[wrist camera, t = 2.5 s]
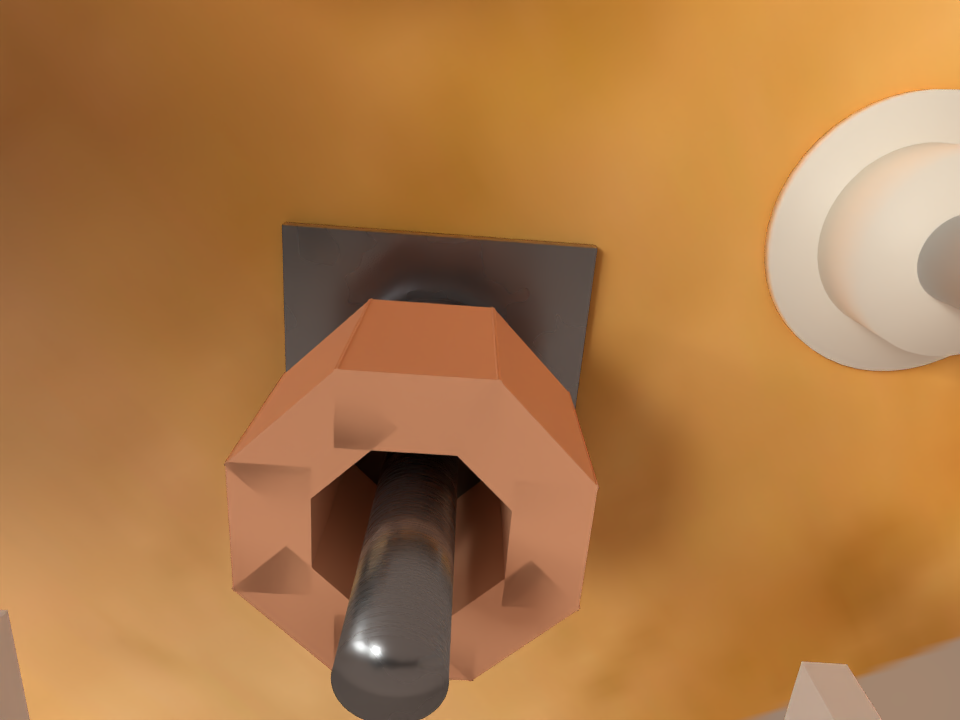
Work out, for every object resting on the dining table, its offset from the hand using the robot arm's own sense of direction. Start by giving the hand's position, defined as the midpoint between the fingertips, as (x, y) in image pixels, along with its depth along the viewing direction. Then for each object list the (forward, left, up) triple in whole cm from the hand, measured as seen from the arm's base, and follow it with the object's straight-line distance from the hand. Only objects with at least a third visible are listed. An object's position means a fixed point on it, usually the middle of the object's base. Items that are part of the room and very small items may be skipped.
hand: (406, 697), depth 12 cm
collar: (0, 0, -9) cm, 9 cm away
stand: (0, 0, -14) cm, 14 cm away
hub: (+15, +6, -14) cm, 21 cm away
